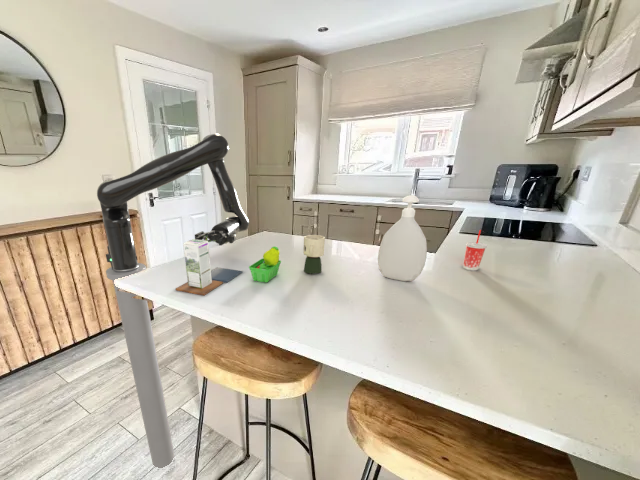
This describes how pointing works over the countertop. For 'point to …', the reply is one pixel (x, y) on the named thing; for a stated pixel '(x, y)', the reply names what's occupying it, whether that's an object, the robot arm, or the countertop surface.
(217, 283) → the wooden coaster
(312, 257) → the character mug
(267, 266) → the fruit basket
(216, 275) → the slate pad
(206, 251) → the syrup box
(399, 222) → the soap bottle
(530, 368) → the countertop surface
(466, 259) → the beverage cup
